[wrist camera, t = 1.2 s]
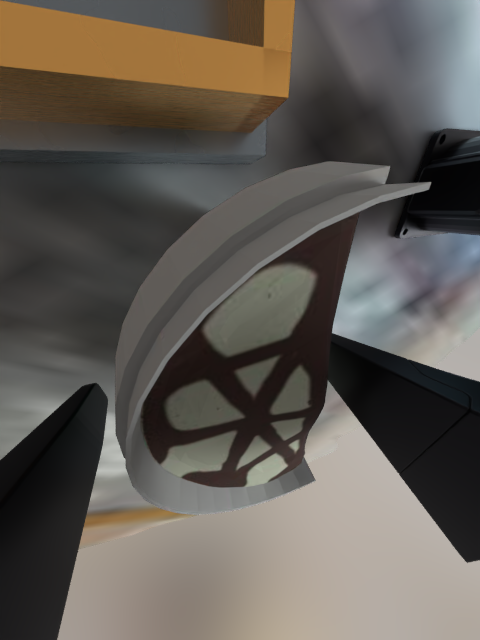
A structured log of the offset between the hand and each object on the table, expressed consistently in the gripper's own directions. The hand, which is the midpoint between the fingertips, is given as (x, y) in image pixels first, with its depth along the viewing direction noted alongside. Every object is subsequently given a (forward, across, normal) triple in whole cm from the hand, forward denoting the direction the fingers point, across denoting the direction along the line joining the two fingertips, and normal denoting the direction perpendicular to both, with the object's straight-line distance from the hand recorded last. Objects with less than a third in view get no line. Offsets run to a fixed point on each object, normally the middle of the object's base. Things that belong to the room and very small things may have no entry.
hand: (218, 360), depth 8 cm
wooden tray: (+6, +4, -18) cm, 20 cm away
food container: (+6, 0, 0) cm, 7 cm away
